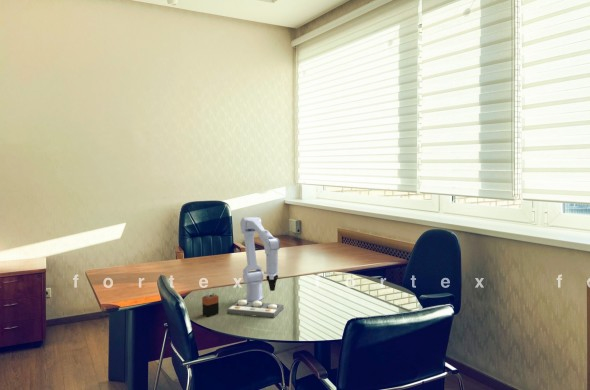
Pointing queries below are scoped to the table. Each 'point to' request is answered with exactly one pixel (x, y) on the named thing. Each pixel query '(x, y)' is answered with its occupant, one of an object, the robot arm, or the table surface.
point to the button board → (255, 310)
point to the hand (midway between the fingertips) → (272, 290)
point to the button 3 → (272, 306)
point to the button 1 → (242, 302)
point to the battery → (210, 305)
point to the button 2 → (257, 304)
